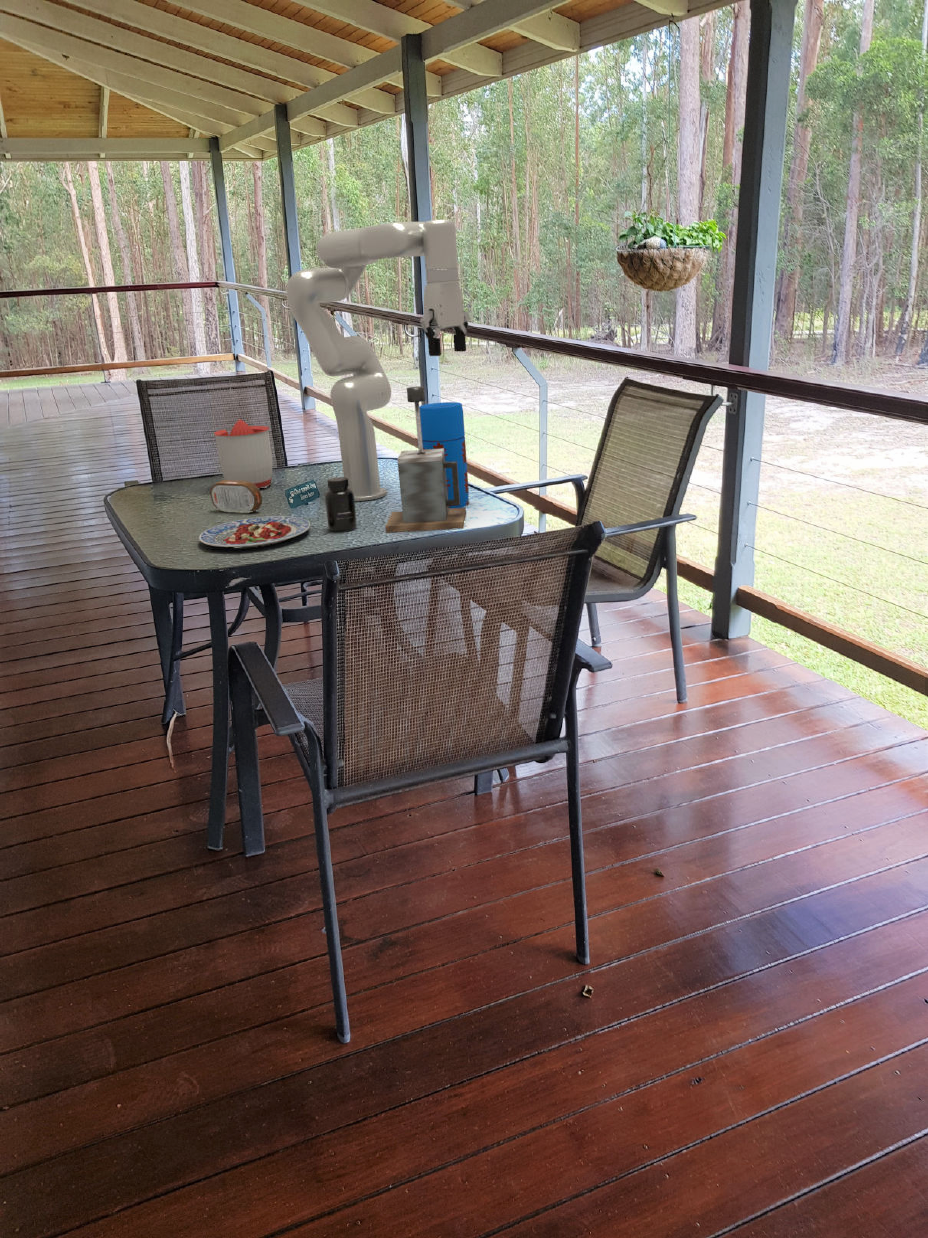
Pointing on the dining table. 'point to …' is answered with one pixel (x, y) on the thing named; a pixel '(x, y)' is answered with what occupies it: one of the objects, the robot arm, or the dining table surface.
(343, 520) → the supplement bottle
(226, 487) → the tin
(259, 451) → the citrus juicer
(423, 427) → the thermos
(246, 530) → the ceramic plate
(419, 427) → the grey rod with knob
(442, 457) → the stand
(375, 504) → the dining table surface
